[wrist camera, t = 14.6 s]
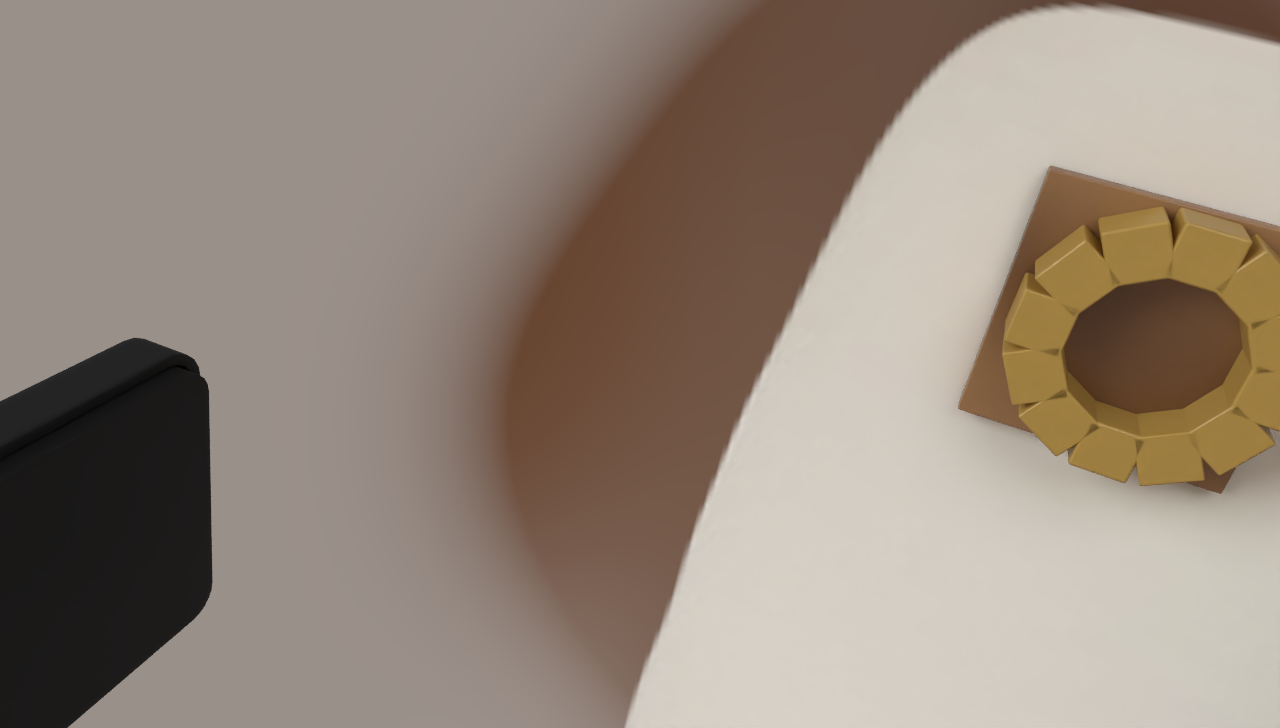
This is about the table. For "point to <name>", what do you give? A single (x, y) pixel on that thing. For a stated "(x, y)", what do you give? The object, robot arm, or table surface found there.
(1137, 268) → the ring
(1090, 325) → the coaster
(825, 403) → the table surface
